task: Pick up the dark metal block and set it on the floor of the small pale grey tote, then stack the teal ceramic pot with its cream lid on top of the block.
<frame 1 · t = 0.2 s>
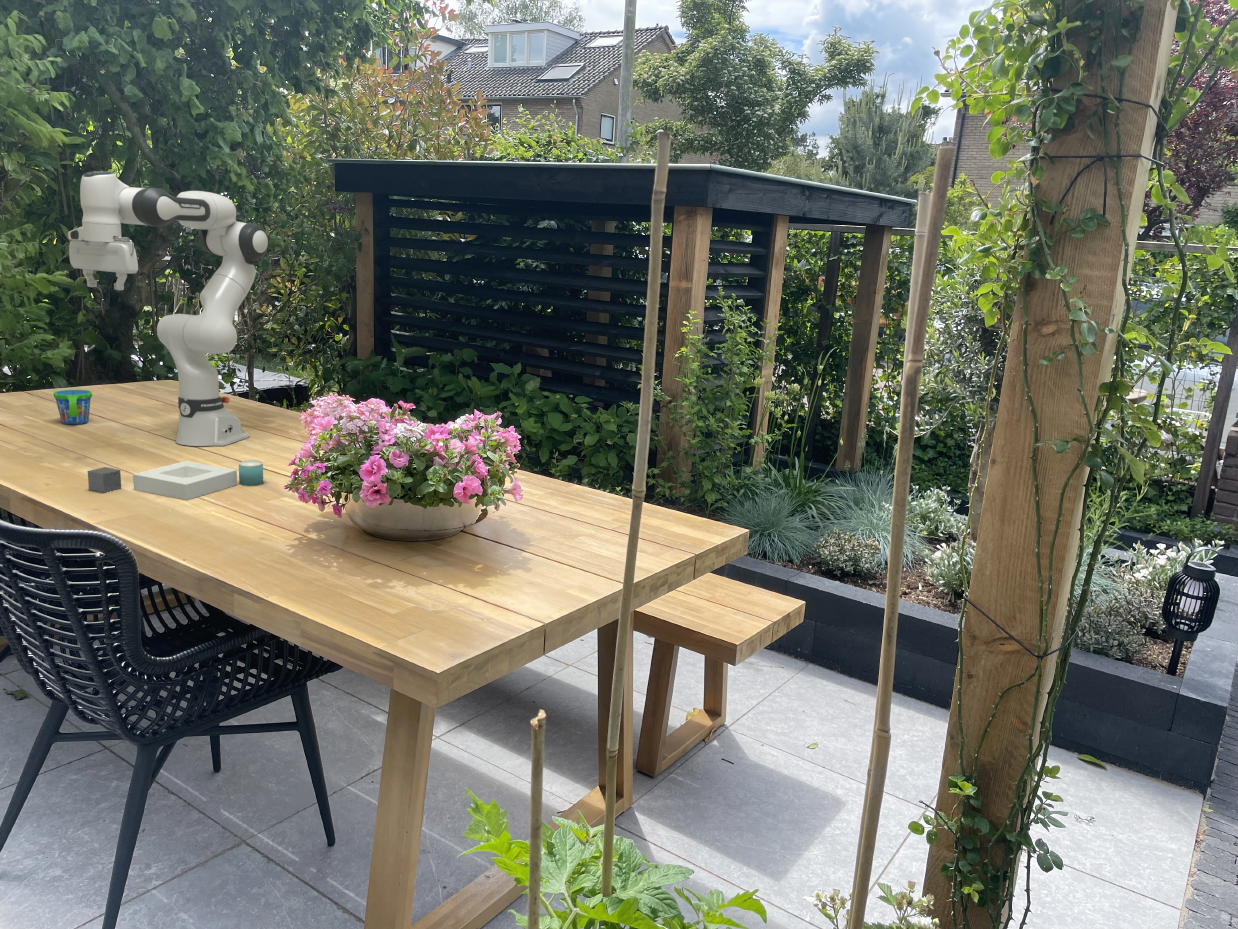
hand: (105, 288, 236), 48 cm above the table, tool pointing down, fingers open, 8 cm apart
teal pot: (251, 483, 237), on the table
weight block: (105, 489, 222), on the table
snack cup: (75, 423, 289), on the table
cutting board: (423, 513, 224), on the table
tote: (186, 487, 229), on the table
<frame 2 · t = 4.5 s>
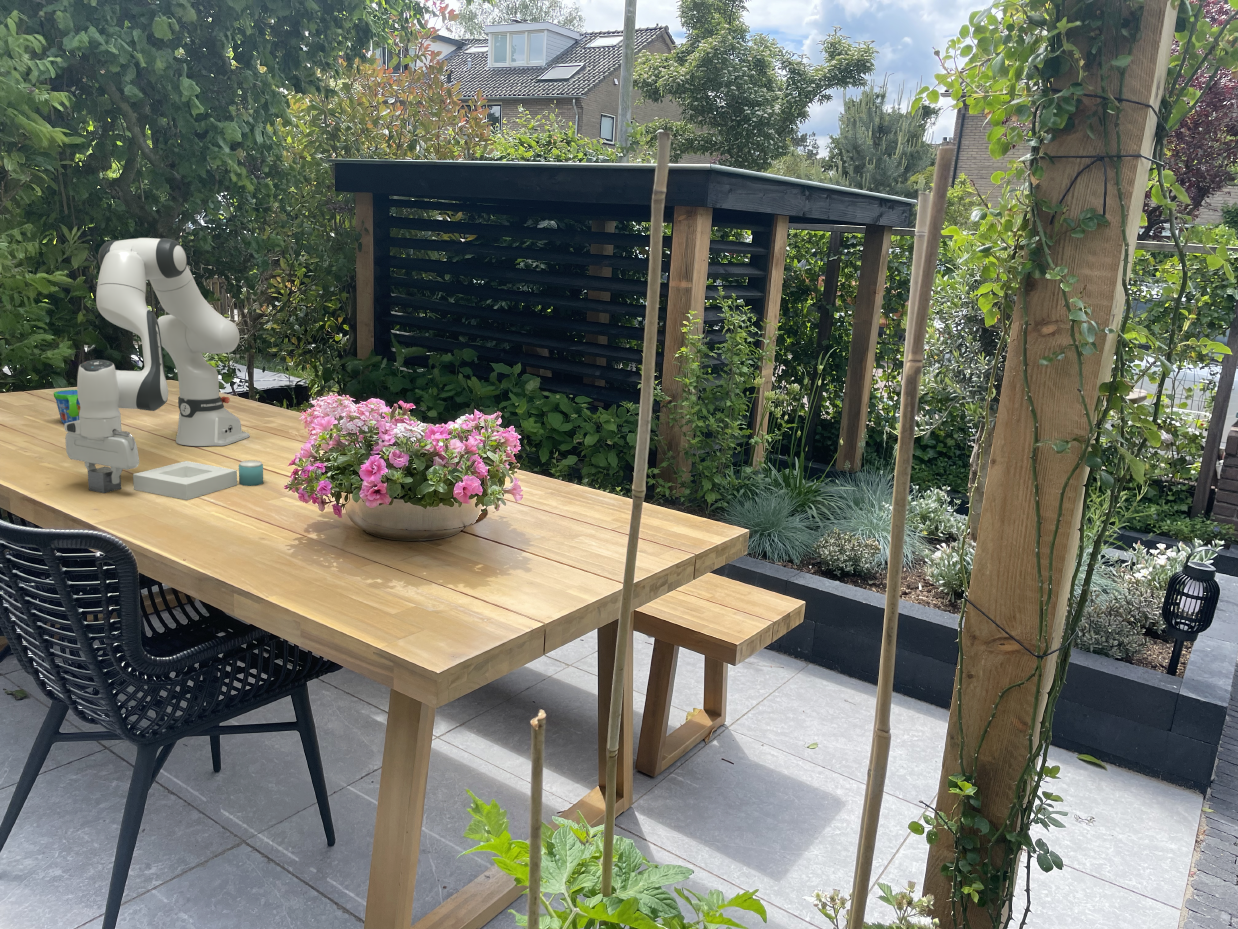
hand: (104, 481, 222), 2 cm above the table, tool pointing down, fingers closed on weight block, 5 cm apart
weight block: (105, 489, 222), on the table, touching gripper
everything else where it was.
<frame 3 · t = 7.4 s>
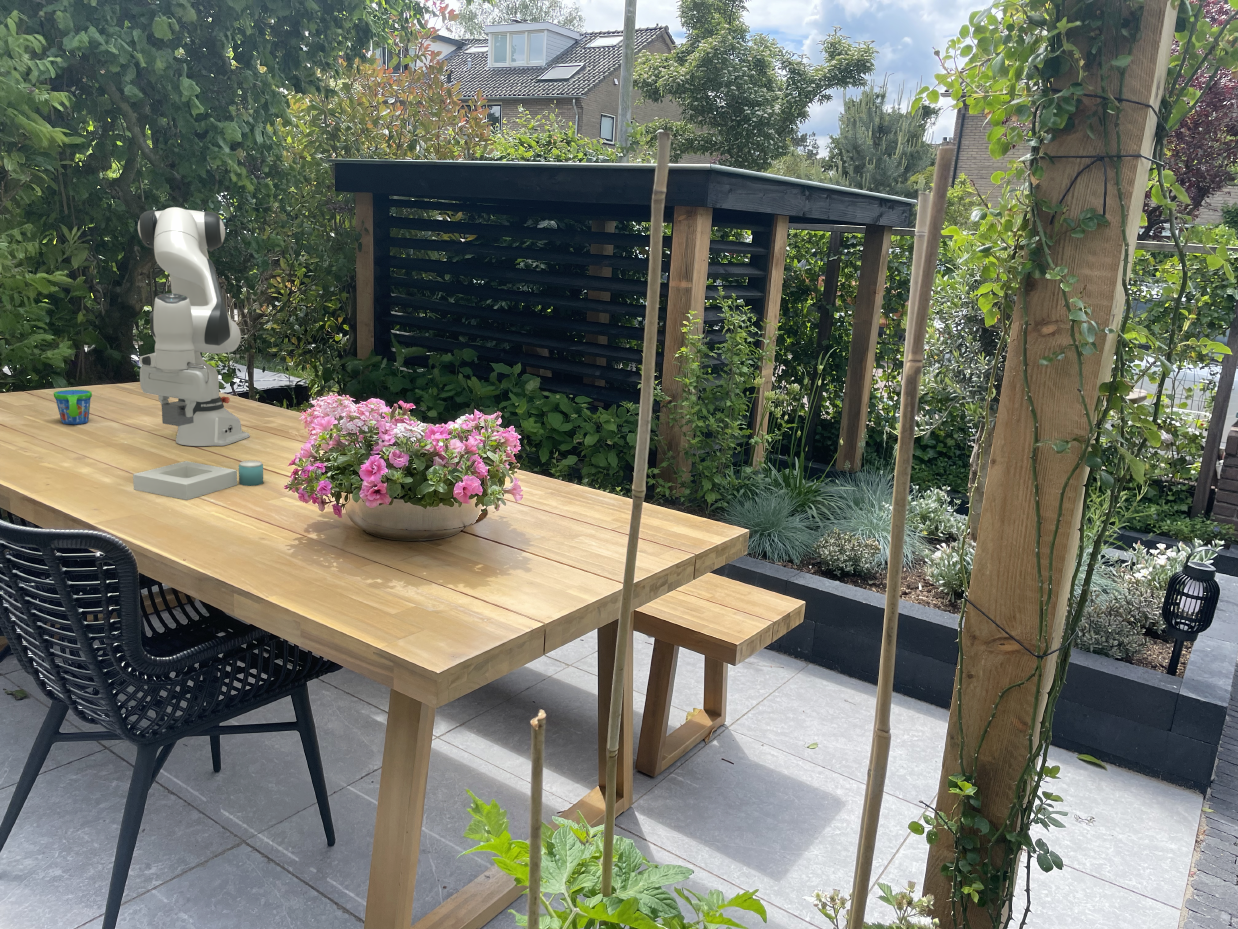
hand: (177, 414, 224), 19 cm above the table, tool pointing down, fingers closed on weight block, 5 cm apart
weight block: (178, 423, 224), point 17 cm above the table, touching gripper
everything else where it was.
when the fingers open (5 cm above the table, at t = 10.8 s): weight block drops 1 cm, resting on tote.
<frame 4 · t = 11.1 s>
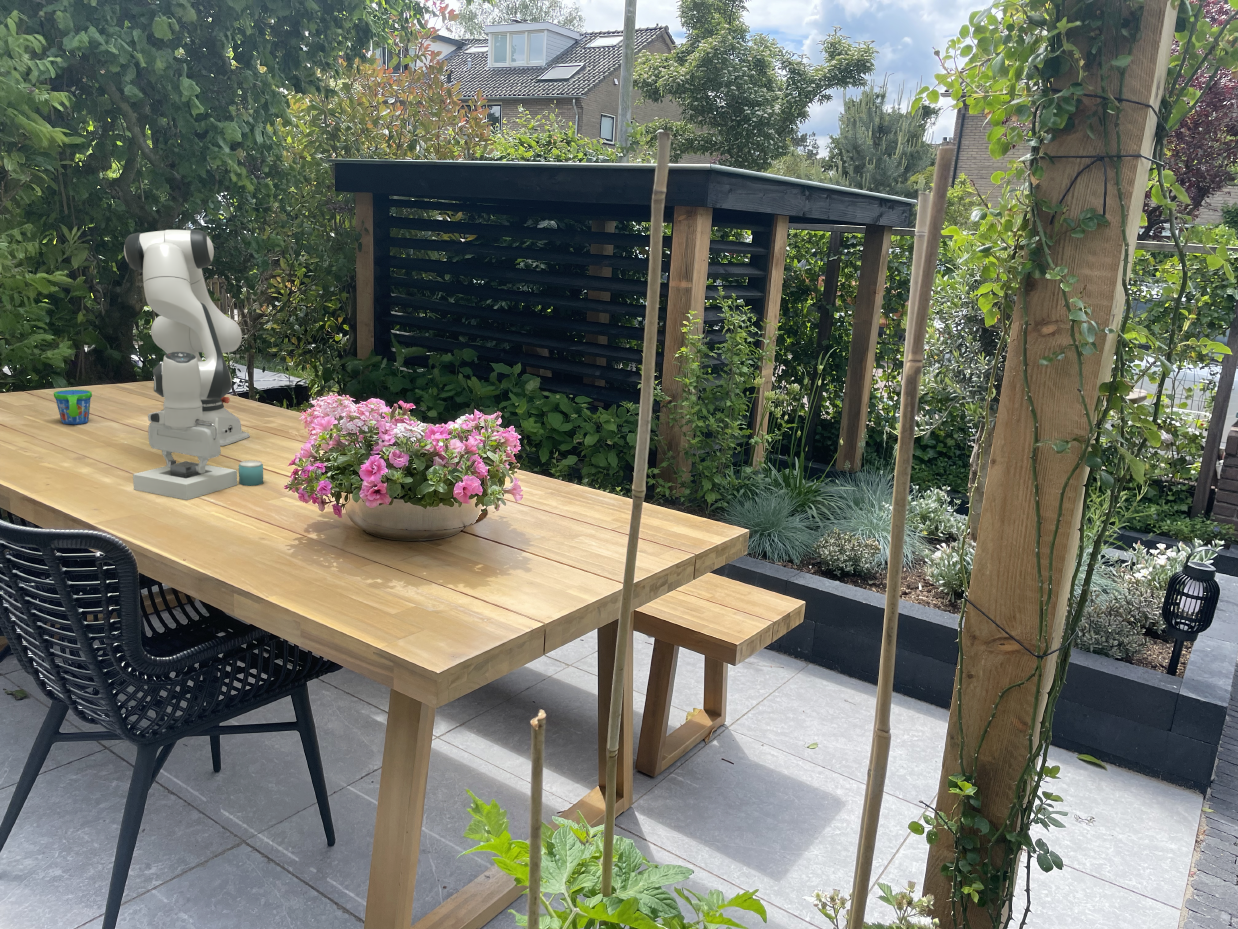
hand: (185, 469, 228), 5 cm above the table, tool pointing down, fingers open, 8 cm apart
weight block: (186, 483, 229), point 1 cm above the table, touching tote
everything else where it was.
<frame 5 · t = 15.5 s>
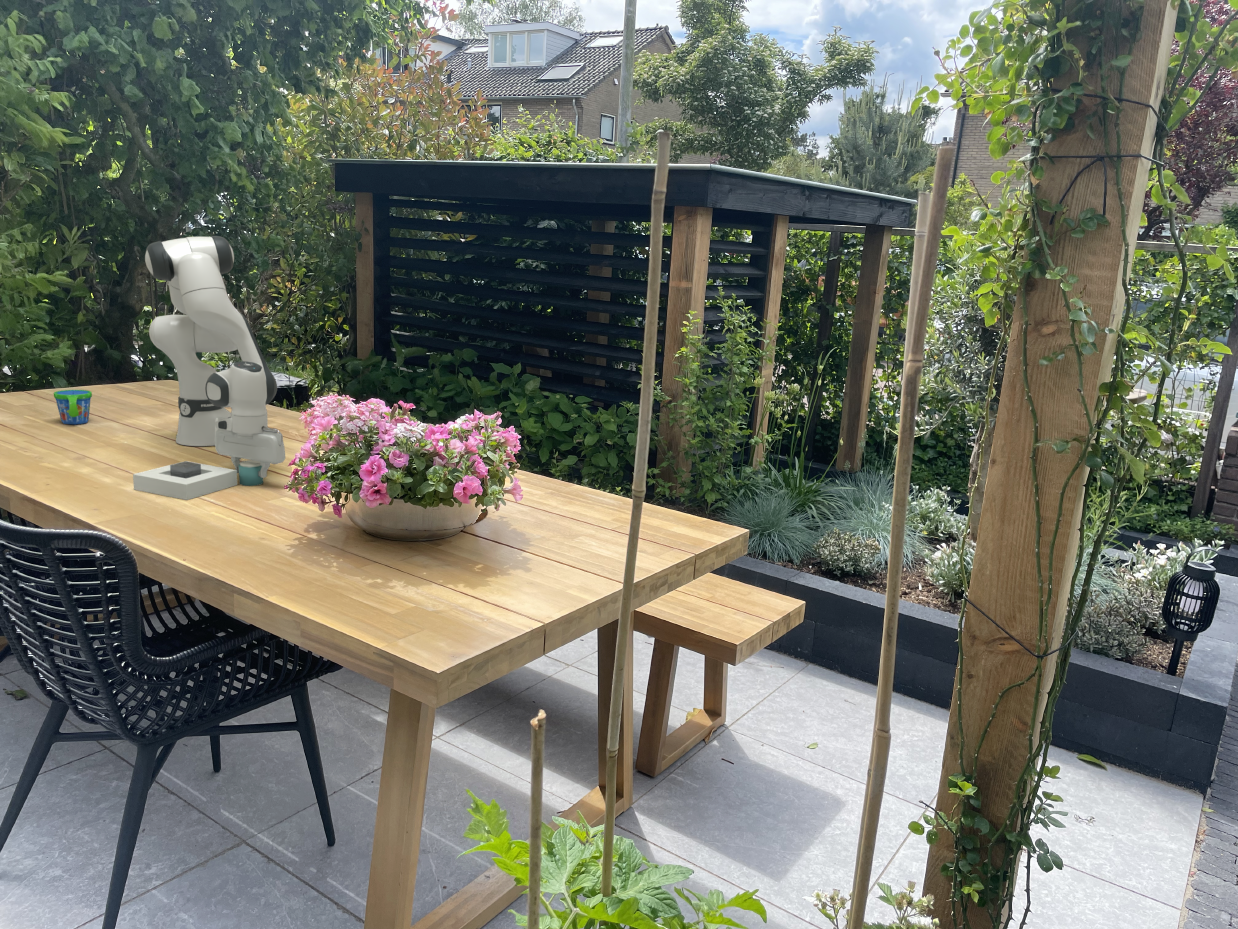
hand: (251, 475, 236), 2 cm above the table, tool pointing down, fingers closed on teal pot, 6 cm apart
teal pot: (251, 482, 237), on the table, touching gripper
everything else where it was.
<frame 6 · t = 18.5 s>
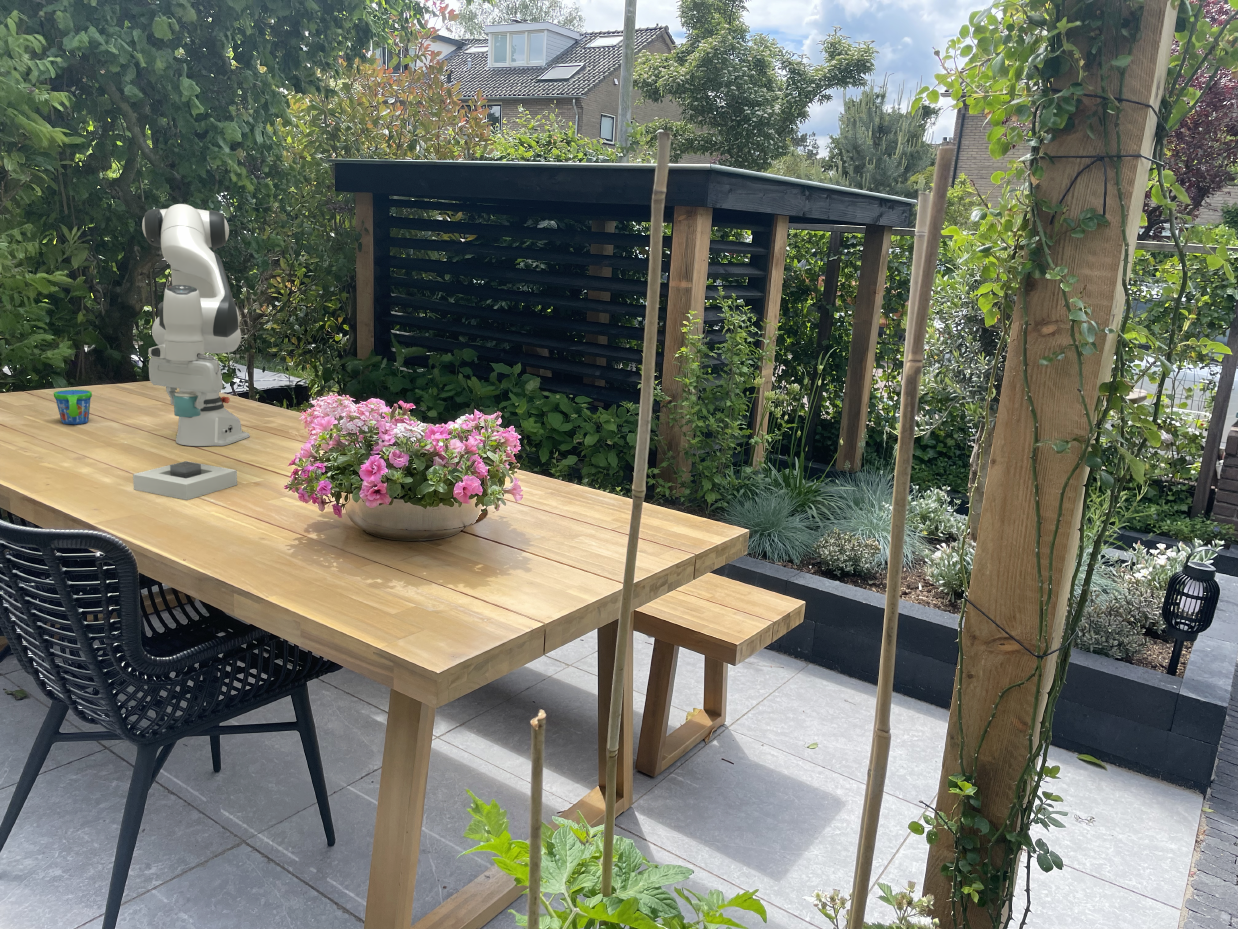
hand: (187, 406, 224), 21 cm above the table, tool pointing down, fingers closed on teal pot, 6 cm apart
teal pot: (187, 414, 225), point 19 cm above the table, touching gripper
everything else where it was.
when the fingers open (9 cm above the table, at t = 21.5 s): teal pot stays where it is, resting on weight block.
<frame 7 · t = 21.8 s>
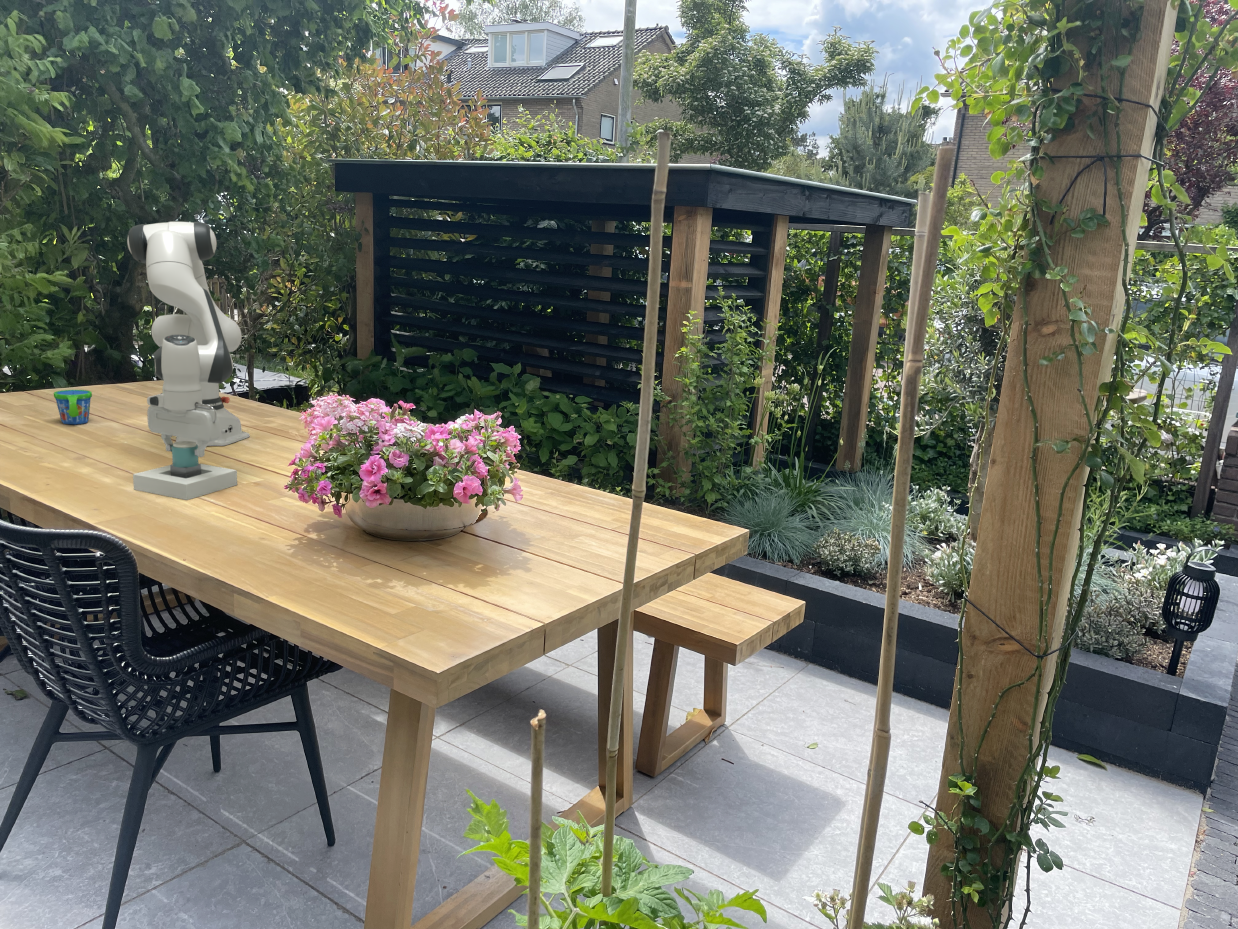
hand: (185, 453, 227), 9 cm above the table, tool pointing down, fingers open, 8 cm apart
teal pot: (185, 464, 228), point 6 cm above the table, touching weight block
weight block: (186, 483, 229), point 1 cm above the table, touching teal pot, tote
everything else where it was.
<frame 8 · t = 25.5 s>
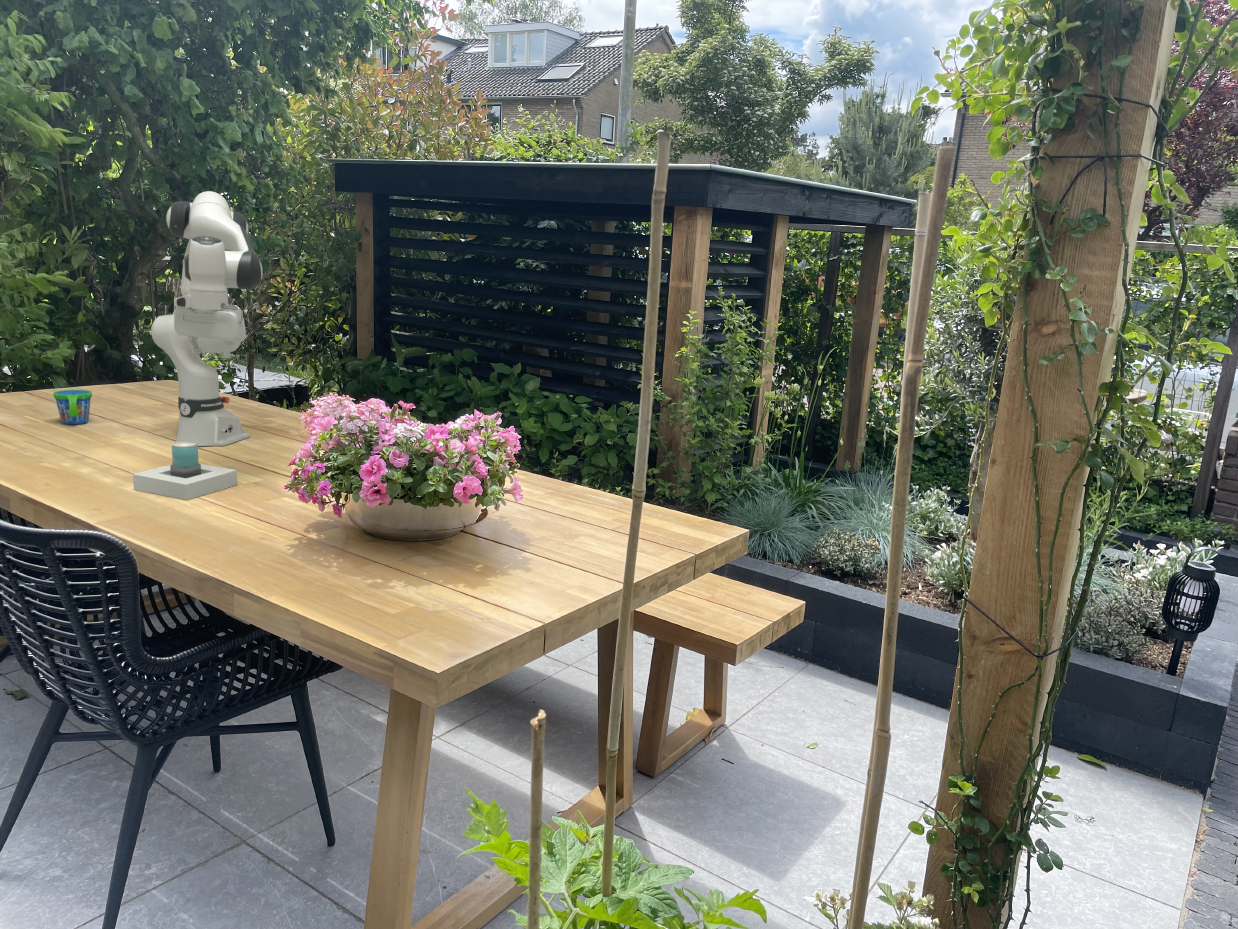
hand: (211, 355, 230), 33 cm above the table, tool pointing down, fingers open, 8 cm apart
nothing on the table moved.
at the end: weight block 0.0 cm off-centre on the tote, point 1.0 cm above the tote's base; teal pot 0.0 cm off-centre on the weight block, point 5.0 cm above the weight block's base; teal pot tilted 0° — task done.
